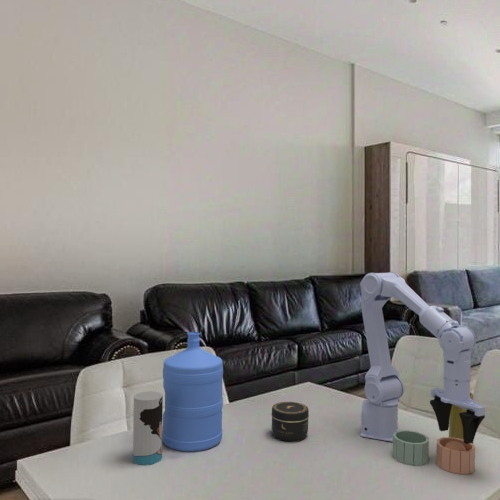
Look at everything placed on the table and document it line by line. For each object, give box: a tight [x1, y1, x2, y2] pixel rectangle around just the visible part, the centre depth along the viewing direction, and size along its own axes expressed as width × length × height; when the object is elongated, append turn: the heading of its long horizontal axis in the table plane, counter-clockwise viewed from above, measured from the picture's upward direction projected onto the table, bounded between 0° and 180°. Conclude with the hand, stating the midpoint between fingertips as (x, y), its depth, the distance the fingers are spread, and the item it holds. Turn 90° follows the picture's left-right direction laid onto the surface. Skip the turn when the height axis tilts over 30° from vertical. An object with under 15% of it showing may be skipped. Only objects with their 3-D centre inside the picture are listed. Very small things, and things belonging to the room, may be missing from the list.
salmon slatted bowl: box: [435, 436, 476, 475], centre depth 112 cm, size 8×8×5 cm
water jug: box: [162, 331, 224, 452], centre depth 125 cm, size 16×16×28 cm
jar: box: [271, 401, 310, 443], centre depth 129 cm, size 10×10×8 cm
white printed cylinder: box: [132, 390, 164, 466], centre depth 114 cm, size 7×7×15 cm
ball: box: [445, 441, 466, 451], centre depth 112 cm, size 5×5×5 cm
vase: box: [448, 391, 474, 445], centre depth 122 cm, size 6×6×14 cm
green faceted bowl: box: [392, 429, 430, 466], centre depth 116 cm, size 8×8×5 cm
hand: (455, 436), depth 112 cm, fingers open, 7 cm apart
